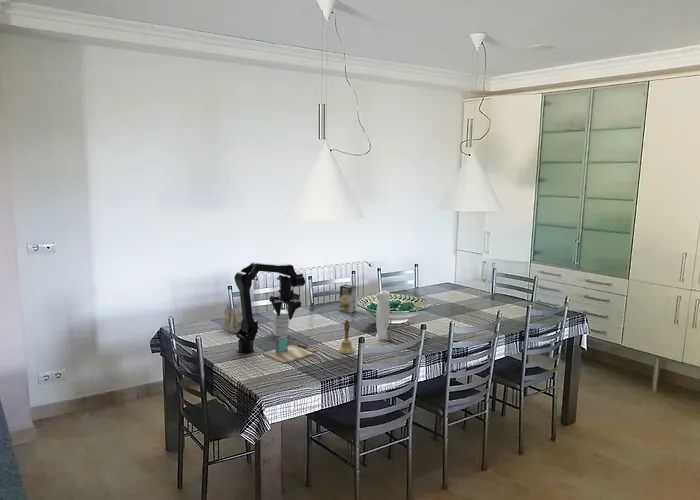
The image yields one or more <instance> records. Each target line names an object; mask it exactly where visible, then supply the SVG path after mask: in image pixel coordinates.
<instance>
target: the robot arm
mask: <svg viewBox="0 0 700 500" xmlns="http://www.w3.org/2000/svg"><path fill="white" fill-rule="evenodd" d="M259 272H265V273H277V274H279V275H278V277H276V280H279V281H280V282H279V283H280V285H279V289H278V290H277V292H279V294H273V295H270V297H269V302H270V303H271V304H272V306H273V309H274V310H275V311H276V313H277V315H278V316H280V310H282V309H281V307H282V304H286V305H287V306H288V307H286V309H287V310H286V311H287V312H288V316H289V321H291V320H292V319H293V317H294V314H295V312H296V311H297V309H299V308H301V307H302V302H301V301H300V297H301V295H300V294H298V293H296V292H294V290H293V289H292V288H298V287H304V286H305V285H306V280H305V277H304V273H302V272H301V273H297V272H296V271H295V268H294V265H293V264H290V263H285V262H282V263H275V264H271V263H261V262H251V263H250V264H249V265H248V266H246V267H243V268H242V269H241V270H240V271H238V272H236V274H235V275H234V277H233V278H234V282H235V286H236V287H237V289H238V290H239V298H240V305H241V312H242V316H243V319H242V322H241V328H240V330H239V331H238V332H237V333H235V335H236V338H237V339H238V340H237V341H238V345H237V346H238V347H237V348H238V349H235V350H236V352H238V353H239V354H242V355H246V354H250V353H253V352H255V349H254V342H255V339H256V337H257V334H258V333H259V322H258V320H255V319H254V317H253V315H254V314H253V309H252V299H251V291H250V290H251V287H252V285H253V283H252V282H253V280H255V278H256V277H257V275H258V273H259Z"/></svg>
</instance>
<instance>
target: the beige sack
mask: <svg viewBox="0 0 700 500" xmlns="http://www.w3.org/2000/svg"><path fill="white" fill-rule="evenodd" d="M223 313H224V318H223V326H222V329H223V330H224V331H227V332H229V333H232V334H237V332H238V331H239V330H240V328H241V322H242V319H243V316H242V310H241V309H240V308H237V310H236V308H234V307H231V305H230V303H229V302H226V308H225V309H224V311H223Z"/></svg>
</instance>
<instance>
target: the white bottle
mask: <svg viewBox="0 0 700 500" xmlns="http://www.w3.org/2000/svg"><path fill="white" fill-rule="evenodd" d="M378 291H380V292H378ZM376 293H377V294H376V295H377V301H378V302H377V305H376V312H375V327H376V335H375V338H376V340H378V341H379V342H389V340H392V331H393V330H392V329H393V327H392V326H393V325H392V319H391V316H390V315H391V312H390V311H391V309H390V304H389V299H390V296H391V291H389V290H384V289H381V288H376ZM387 332H388V334H387Z"/></svg>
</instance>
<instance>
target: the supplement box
mask: <svg viewBox="0 0 700 500" xmlns="http://www.w3.org/2000/svg"><path fill="white" fill-rule="evenodd" d="M289 321H290V320H289V316H288V310H286V309H281V310H280V316H278V315H277V313H276V311H275V309H274V310H272V331H271V332H272V334H273V335H274V336H275V337H276V338H278V337H282V336H287V337H288V336H289V324H290V322H289Z"/></svg>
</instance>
